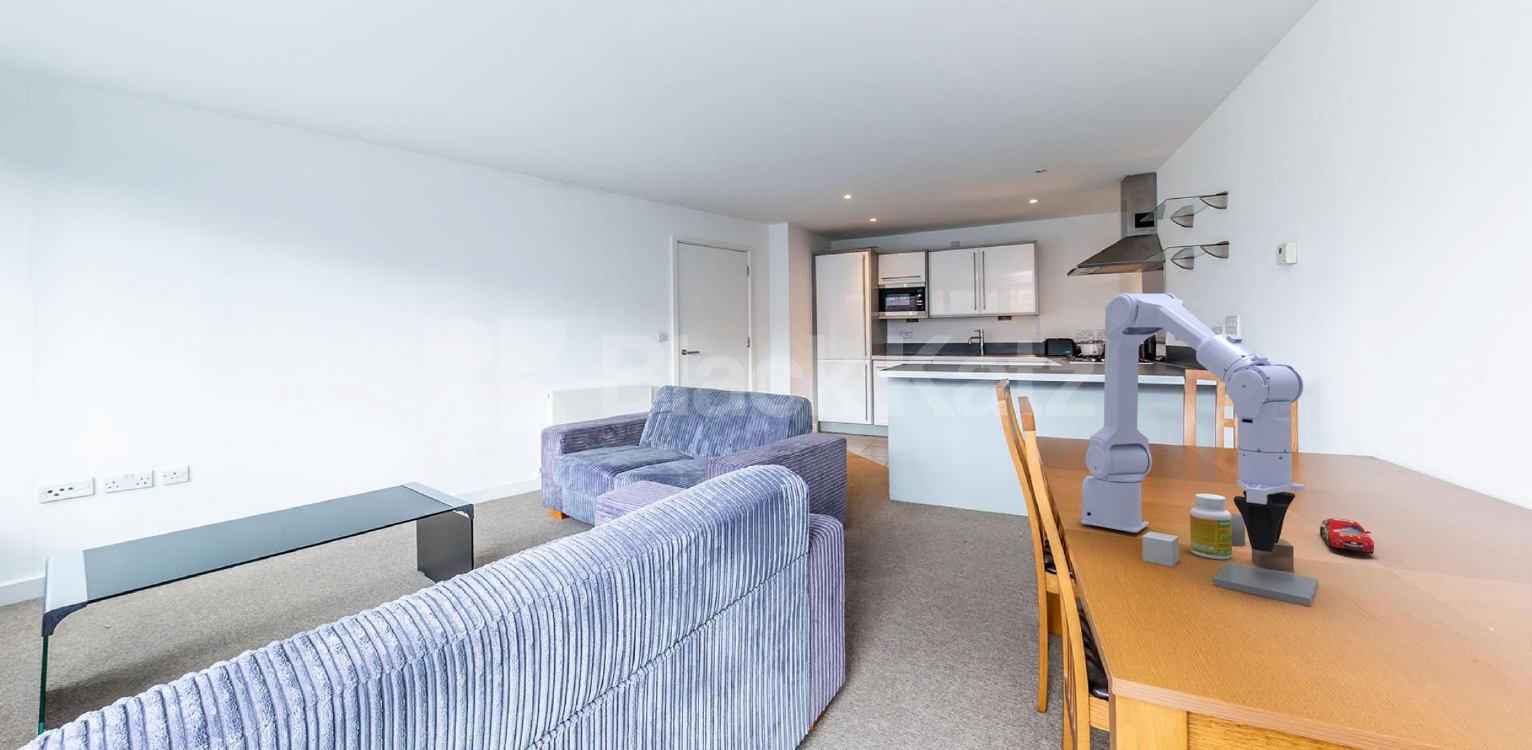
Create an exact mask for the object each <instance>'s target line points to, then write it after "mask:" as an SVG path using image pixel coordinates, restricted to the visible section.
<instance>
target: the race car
mask: <svg viewBox="0 0 1532 750" xmlns="http://www.w3.org/2000/svg"><path fill="white" fill-rule="evenodd" d="M1371 533H1372V532H1371V531H1370V530H1369V531H1368V530H1367V531H1366V530H1365V529H1364V527H1362V525H1361V524H1360V523H1359V522H1357V521H1354V520H1350V519H1345V518H1344V519H1343V518H1327V519H1325V520H1322V522H1321V523H1320V527H1319V534H1320V538H1321V539H1323V540H1324V542H1325V543H1327V544H1328V548H1329V549H1334V550H1336V549H1337V548H1339V549H1344V550H1351V551H1360V552H1365V554H1370V555H1372V554H1374V552H1375V541H1374V540H1373V539H1372V538H1371V537H1370V535H1368V534H1371Z"/></svg>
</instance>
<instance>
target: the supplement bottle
mask: <svg viewBox="0 0 1532 750" xmlns="http://www.w3.org/2000/svg"><path fill="white" fill-rule="evenodd" d="M1194 497H1195V498H1194V503H1195V504H1196V506H1194V507H1192V508H1190V511H1189V512H1190V513H1189V515H1190V516H1189V522H1190V524H1189V525H1190V526H1189V527H1190V532H1189V533H1190V534H1189V536H1190V541H1189V542H1190V545H1189V546H1190V552H1192V554H1194V555H1196V556H1199V557H1202V558H1207V559H1212V560H1229V559H1231V558H1232V557H1233V554H1232V553H1233V552H1232V551H1233V549H1232V548H1233V546H1232V518H1231V514H1232V513H1230V511H1228V510H1227V509H1225V507H1227V506H1226V505H1227V500H1226V497H1225V496H1223V495H1219V494H1218V495H1217V494H1214V493H1213V494H1210V493H1196V494H1195V495H1194Z"/></svg>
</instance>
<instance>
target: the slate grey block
mask: <svg viewBox="0 0 1532 750" xmlns="http://www.w3.org/2000/svg"><path fill="white" fill-rule="evenodd" d="M1230 514H1231V518H1232V547H1244V546H1246V526H1245V523H1244V520H1243V517H1242V515H1241V514H1235V513H1230Z"/></svg>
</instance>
